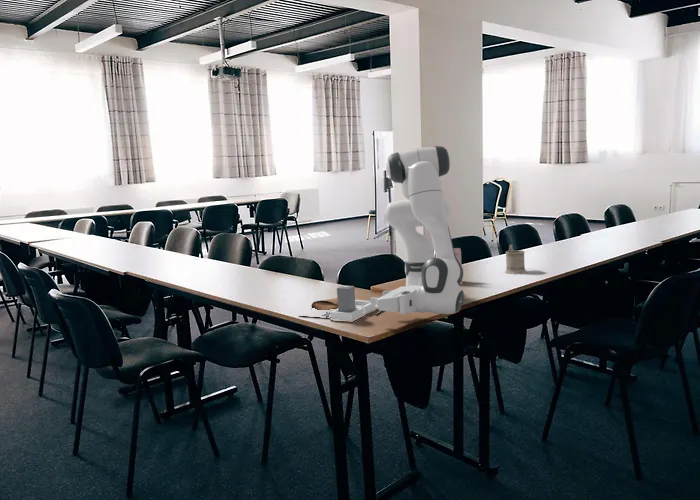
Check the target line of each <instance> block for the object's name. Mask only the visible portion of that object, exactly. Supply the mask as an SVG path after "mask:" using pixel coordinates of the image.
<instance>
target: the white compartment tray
mask: <svg viewBox="0 0 700 500" xmlns="http://www.w3.org/2000/svg"><path fill="white" fill-rule="evenodd" d="M355 305H356V310H355V311H353V312H351V313H349V312H338V309H336V310H334V311H332V312H331V318H330V319H339V320H349V321H353V320H355V319H357V318H359V317H361V316H363V315H365V314H367V313H369V312H371V311H373V310H375V309H377V304H375V303H370V300H363V299H362V300H361V299H355ZM377 310H378V309H377ZM375 311H376V310H375ZM373 312H374V311H373ZM330 319H329V320H330Z"/></svg>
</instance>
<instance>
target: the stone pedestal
mask: <svg viewBox="0 0 700 500" xmlns="http://www.w3.org/2000/svg"><path fill="white" fill-rule="evenodd" d="M505 261H506V264H505V265H506V268H505V271H504V273H505V274H508V275H509V274H510V275H521V274H522V275H523V274H527V270H526V268H525V250H519V249H518V250H514V248H513V244H509V247H508V250H507V251H505Z"/></svg>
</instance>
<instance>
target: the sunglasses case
mask: <svg viewBox="0 0 700 500" xmlns="http://www.w3.org/2000/svg"><path fill="white" fill-rule="evenodd" d="M311 307H312V308H315V309H317V310H330V309H337V308H338V298H337V297H335V298H329V299H326V300H325V299H324V300H316V301H313V302H312V303H311ZM311 307H310V308H311ZM312 308H311V309H312Z"/></svg>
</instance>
